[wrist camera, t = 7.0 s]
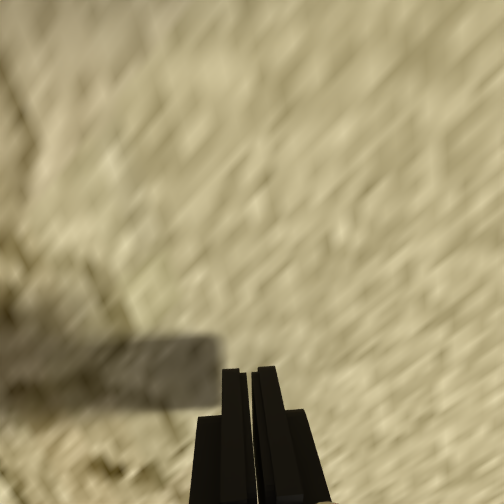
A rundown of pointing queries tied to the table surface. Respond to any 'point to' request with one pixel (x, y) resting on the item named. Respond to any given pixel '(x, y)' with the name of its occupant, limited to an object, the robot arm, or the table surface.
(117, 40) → the table surface
